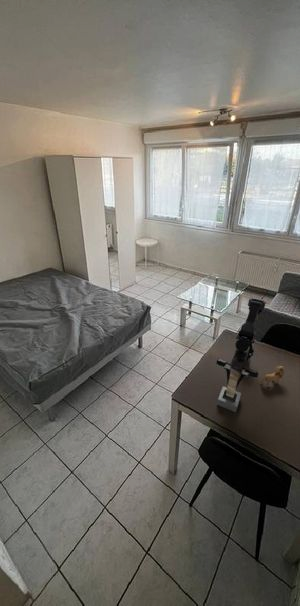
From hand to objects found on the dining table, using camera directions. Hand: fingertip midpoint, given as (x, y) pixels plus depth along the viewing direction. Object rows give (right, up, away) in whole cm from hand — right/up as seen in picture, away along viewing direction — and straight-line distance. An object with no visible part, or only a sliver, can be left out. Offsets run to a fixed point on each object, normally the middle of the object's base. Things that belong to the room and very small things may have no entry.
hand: (231, 386), depth 119 cm
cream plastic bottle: (+1, -5, +4) cm, 7 cm away
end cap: (+1, -10, +7) cm, 12 cm away
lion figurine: (+26, -4, +18) cm, 32 cm away
